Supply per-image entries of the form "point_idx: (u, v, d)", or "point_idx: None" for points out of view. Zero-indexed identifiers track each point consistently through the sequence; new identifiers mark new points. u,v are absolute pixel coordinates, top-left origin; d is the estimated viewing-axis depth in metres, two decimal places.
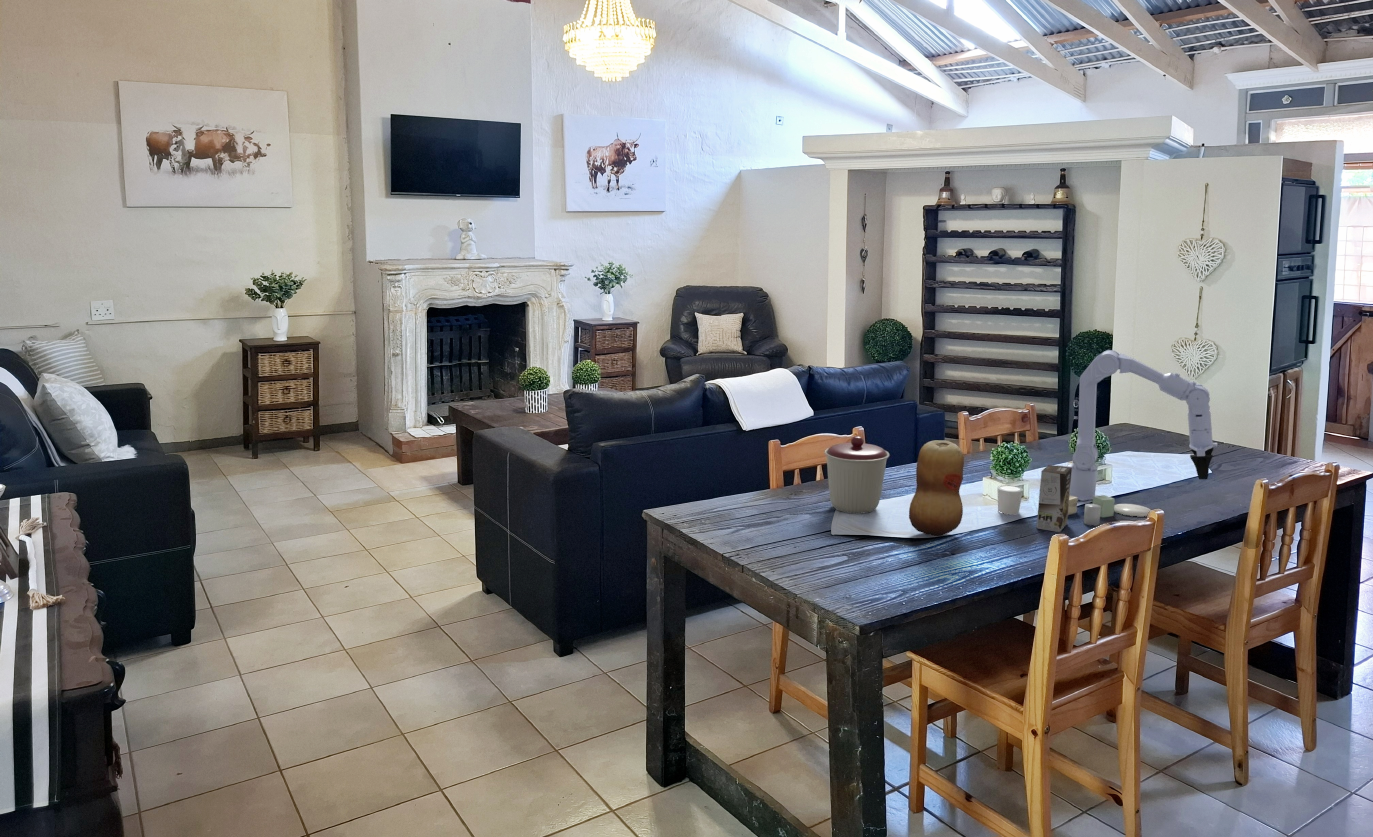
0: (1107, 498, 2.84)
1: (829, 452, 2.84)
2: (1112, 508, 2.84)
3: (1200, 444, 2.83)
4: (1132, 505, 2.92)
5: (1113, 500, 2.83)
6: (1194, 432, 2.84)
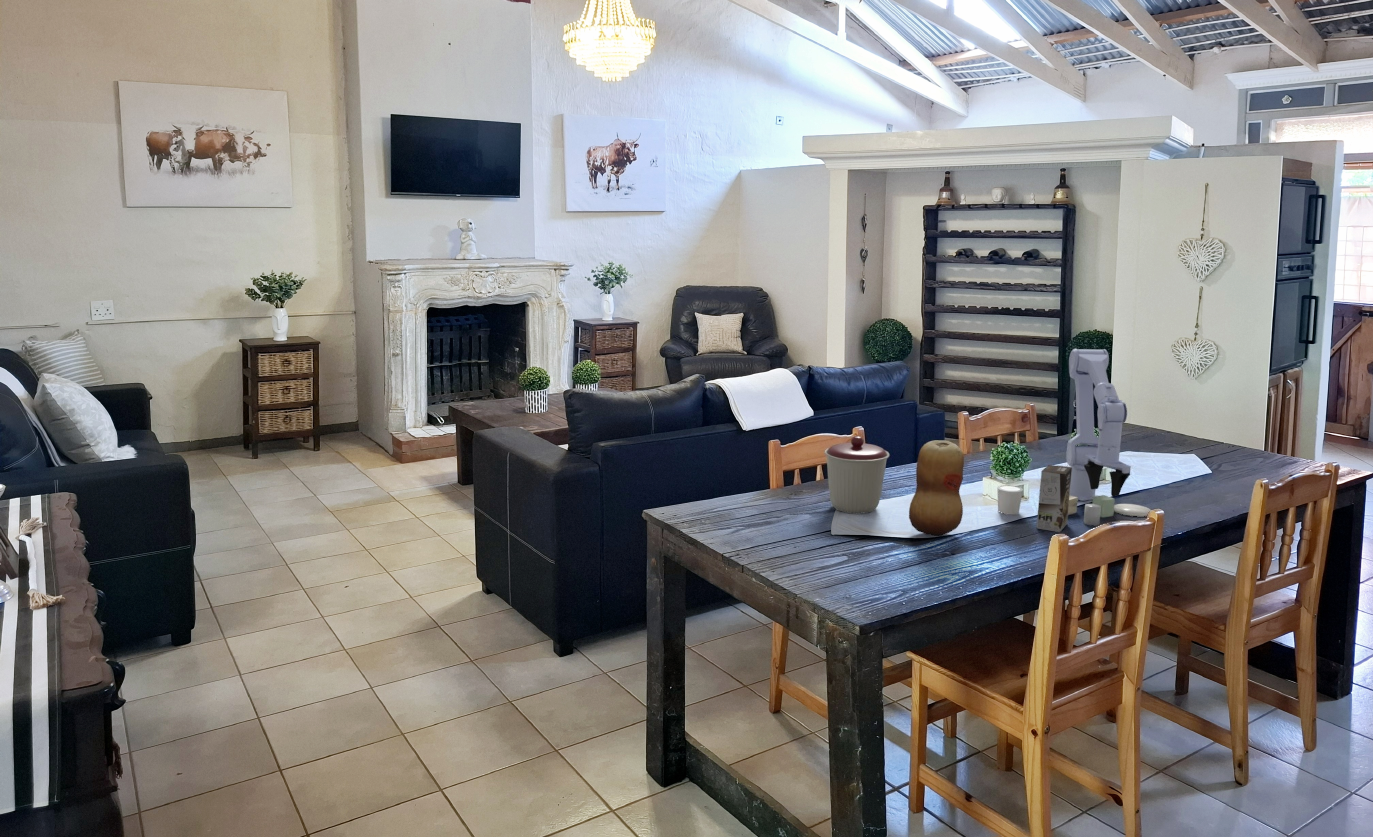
0: (1107, 498, 2.84)
1: (829, 452, 2.84)
2: (1112, 508, 2.84)
3: None
4: (1132, 505, 2.92)
5: (1113, 500, 2.83)
6: None
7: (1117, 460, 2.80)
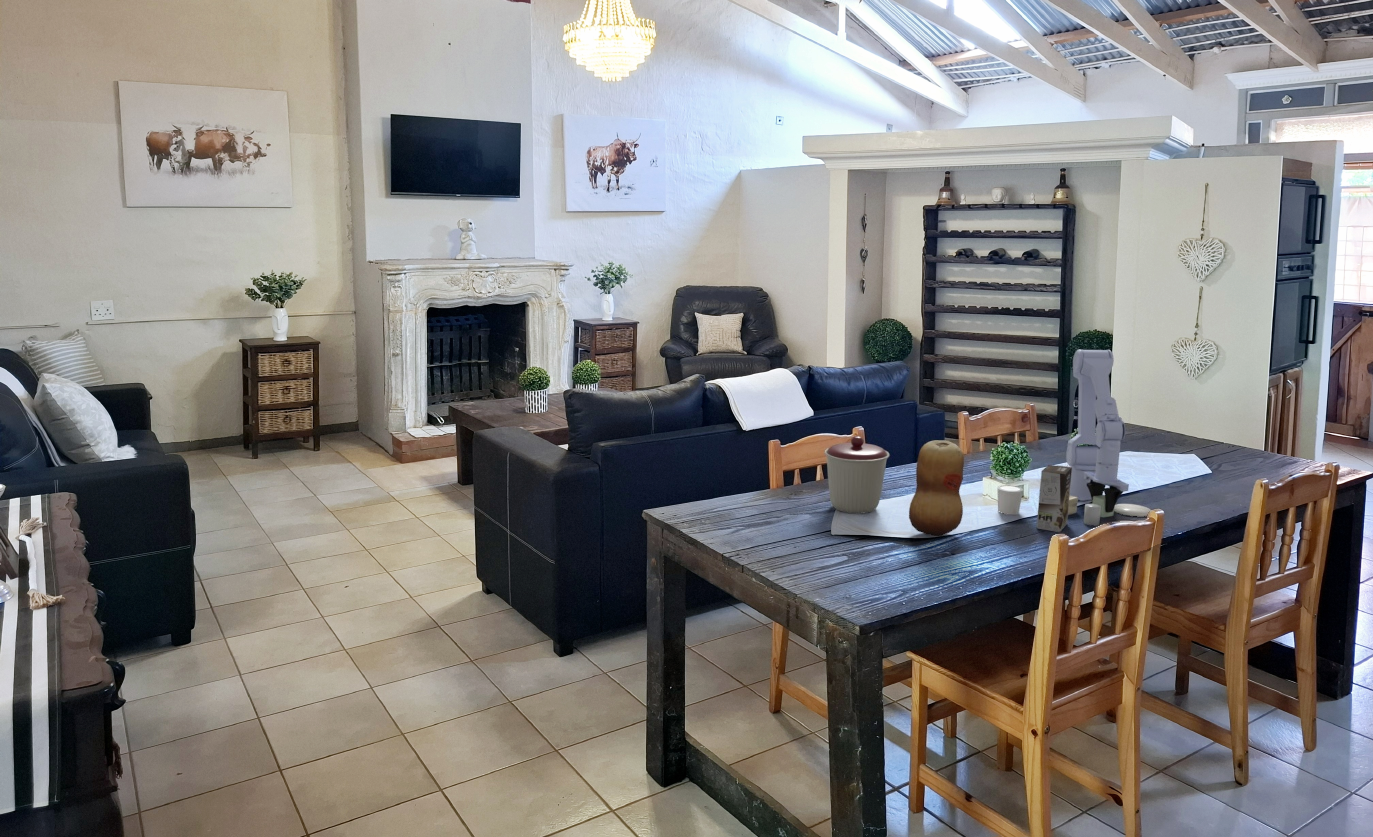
0: None
1: (829, 452, 2.84)
2: None
3: None
4: (1132, 505, 2.92)
5: None
6: None
7: (1115, 478, 2.81)
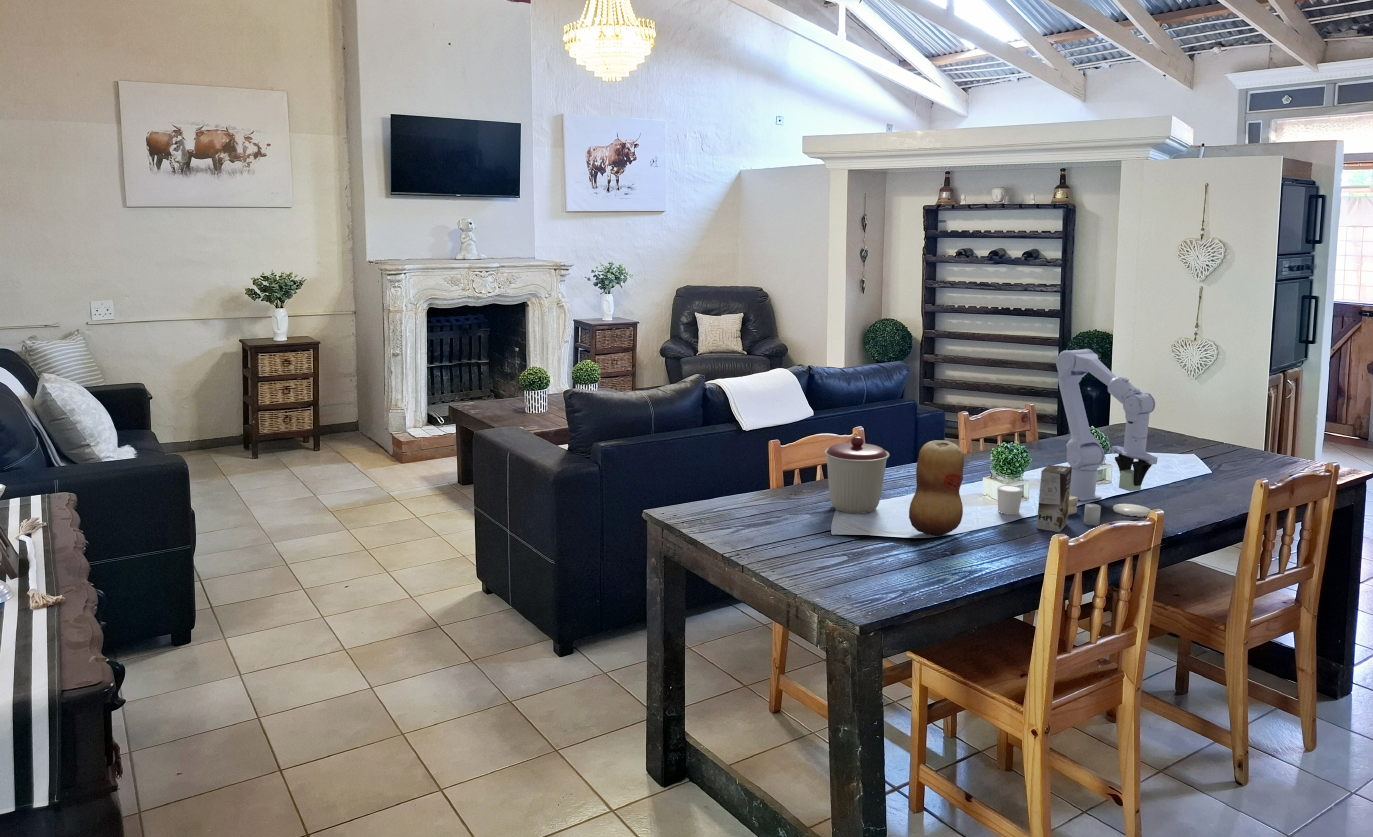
0: None
1: (829, 452, 2.84)
2: None
3: None
4: (1132, 505, 2.92)
5: None
6: None
7: (1144, 451, 2.82)
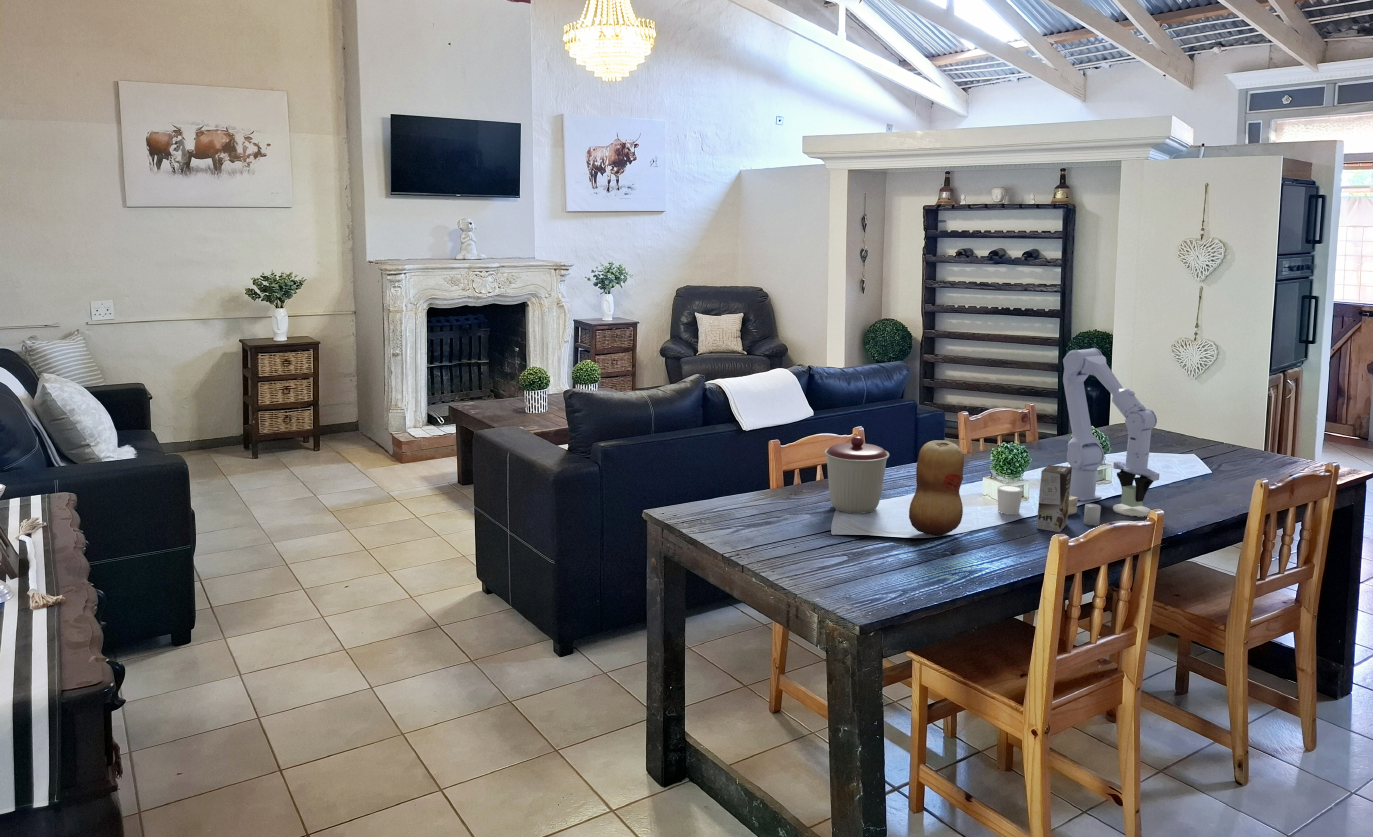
0: None
1: (829, 452, 2.84)
2: None
3: None
4: None
5: None
6: None
7: (1146, 467, 2.84)
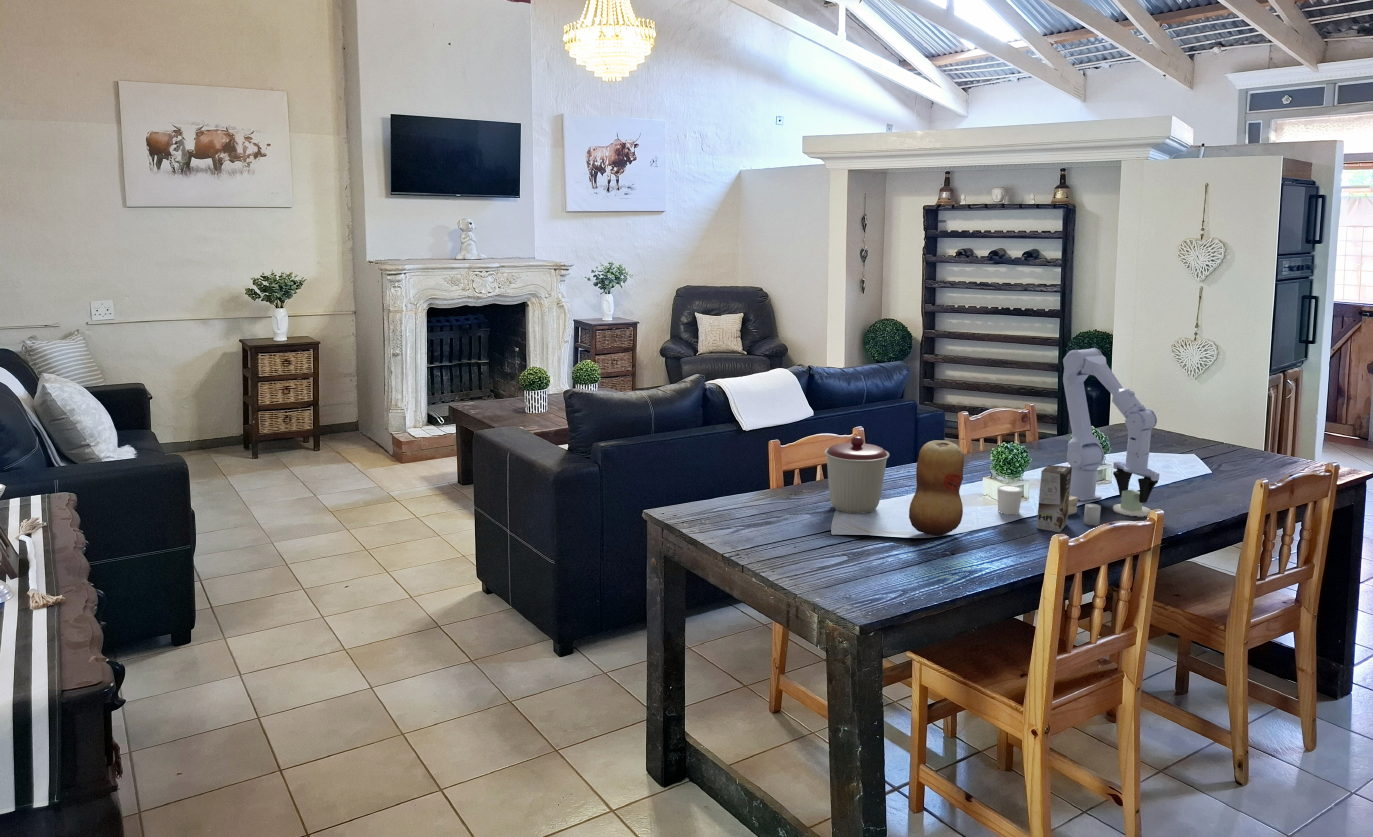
0: (1136, 492, 2.87)
1: (829, 452, 2.84)
2: None
3: None
4: None
5: None
6: None
7: (1146, 467, 2.84)
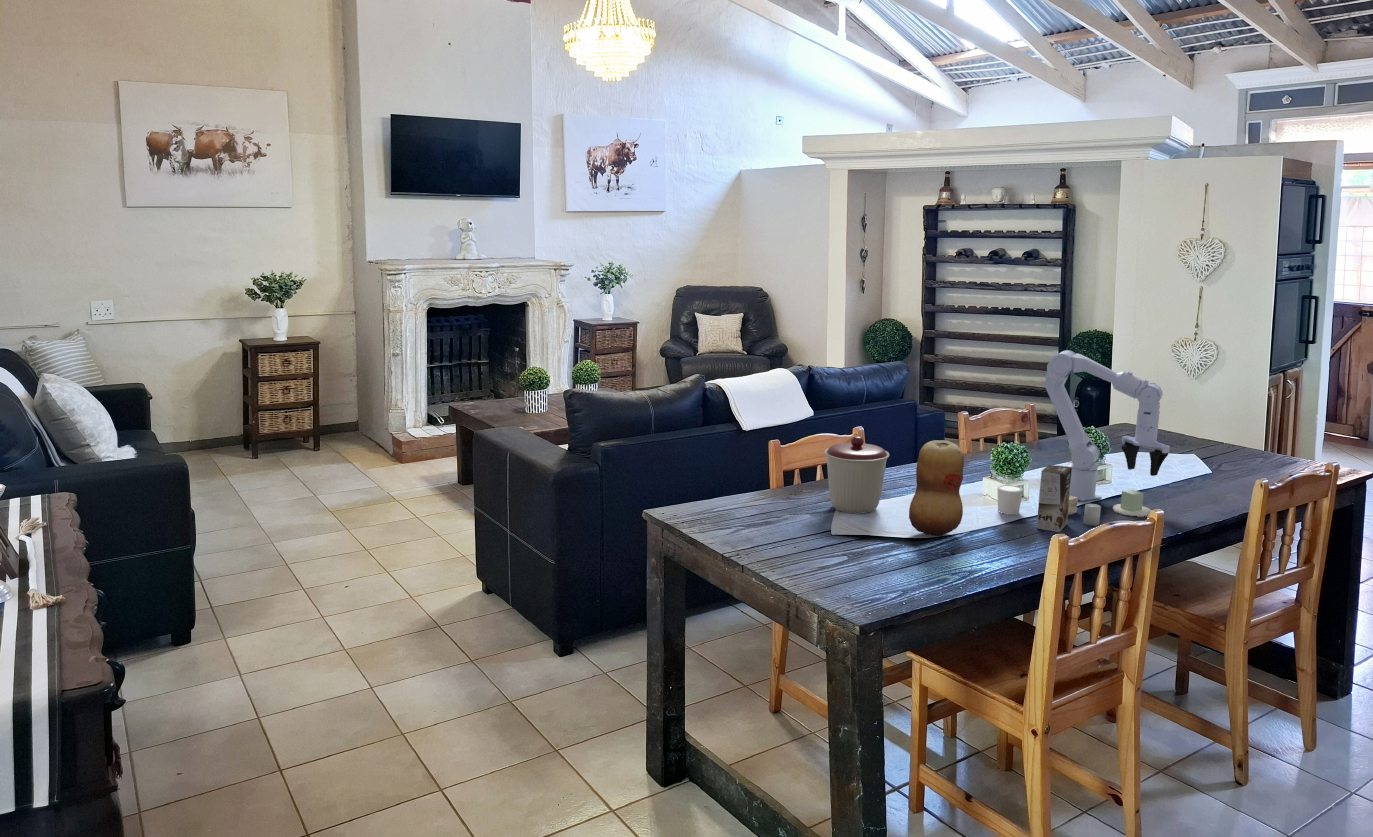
0: (1136, 492, 2.87)
1: (829, 452, 2.84)
2: (1141, 502, 2.87)
3: None
4: None
5: (1142, 494, 2.86)
6: None
7: (1155, 440, 2.89)
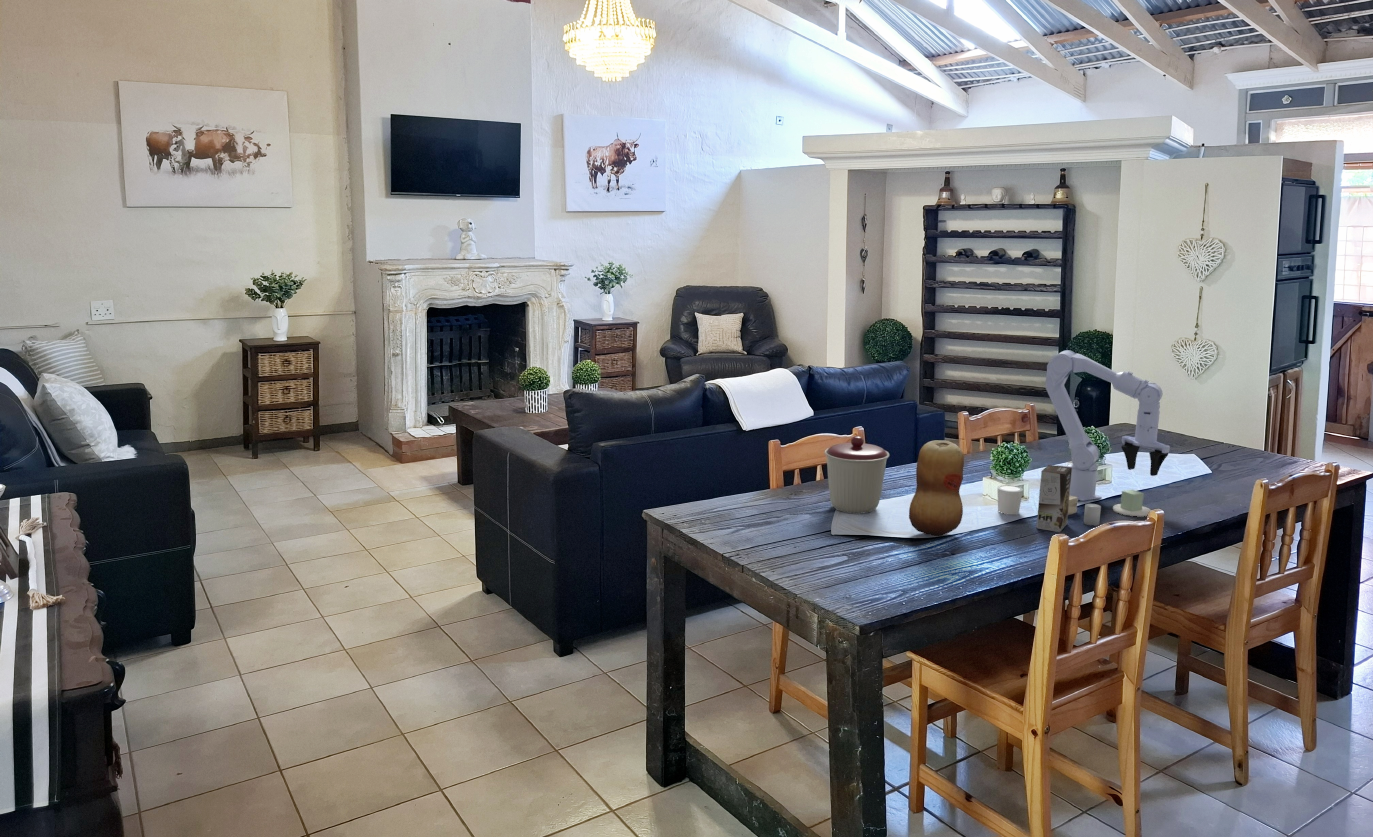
0: (1136, 492, 2.87)
1: (829, 452, 2.84)
2: (1141, 502, 2.87)
3: None
4: None
5: (1142, 494, 2.86)
6: None
7: (1155, 440, 2.89)
